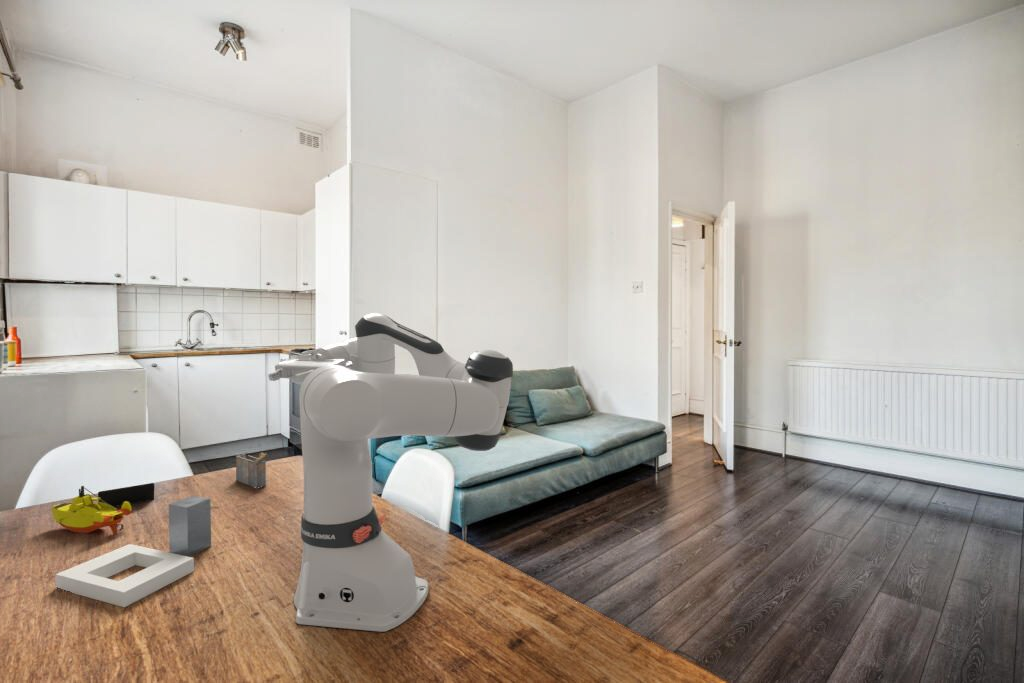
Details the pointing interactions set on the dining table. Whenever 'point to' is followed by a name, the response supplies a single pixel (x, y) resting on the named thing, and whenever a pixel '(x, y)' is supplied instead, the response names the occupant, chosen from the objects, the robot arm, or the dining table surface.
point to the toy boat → (89, 514)
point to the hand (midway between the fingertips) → (282, 378)
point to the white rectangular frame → (156, 575)
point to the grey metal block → (189, 525)
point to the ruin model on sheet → (251, 470)
